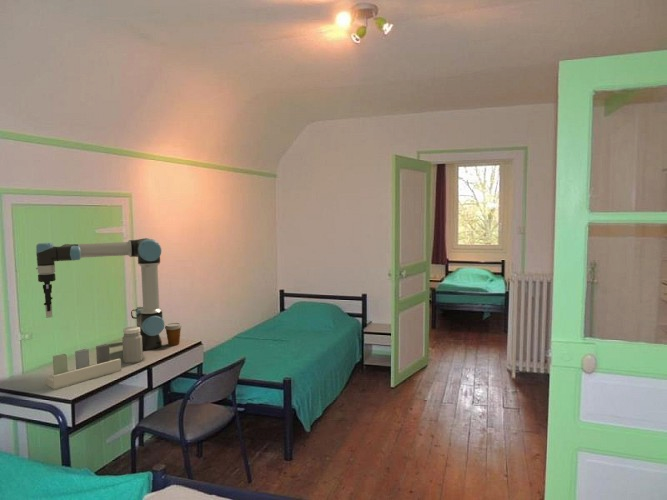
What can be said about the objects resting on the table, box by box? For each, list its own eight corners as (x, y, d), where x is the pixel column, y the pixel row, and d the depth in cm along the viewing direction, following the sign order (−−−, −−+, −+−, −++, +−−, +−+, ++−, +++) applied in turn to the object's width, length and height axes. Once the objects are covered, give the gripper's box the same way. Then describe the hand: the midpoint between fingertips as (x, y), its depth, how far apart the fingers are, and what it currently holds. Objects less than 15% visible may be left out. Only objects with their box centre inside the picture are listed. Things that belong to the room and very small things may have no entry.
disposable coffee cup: (176, 346, 277) (176, 326, 276) (162, 345, 279) (161, 326, 278) (185, 342, 286) (184, 323, 285) (171, 341, 288) (170, 322, 287)
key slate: (76, 375, 227) (75, 351, 226) (87, 372, 231) (85, 348, 230) (79, 376, 225) (77, 352, 224) (89, 373, 229) (88, 349, 228)
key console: (45, 384, 218) (44, 371, 218) (111, 366, 242) (110, 355, 242) (54, 389, 212) (54, 376, 211) (121, 370, 236) (120, 359, 236)
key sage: (54, 381, 219) (52, 356, 218) (65, 378, 223) (64, 353, 222) (56, 382, 217) (55, 357, 216) (68, 379, 221) (66, 354, 220)
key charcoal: (97, 369, 235) (96, 346, 234) (107, 366, 239) (106, 344, 238) (100, 370, 233) (98, 347, 232) (110, 368, 237) (108, 345, 236)
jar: (138, 357, 258) (137, 325, 256) (146, 361, 251) (144, 328, 249) (120, 361, 251) (118, 328, 249) (127, 365, 244) (126, 331, 242)
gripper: (38, 271, 245) (40, 311, 247) (37, 277, 224) (40, 320, 225) (54, 270, 249) (57, 309, 251) (55, 275, 228) (58, 318, 229)
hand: (49, 314), depth 238 cm, fingers open, 13 cm apart
